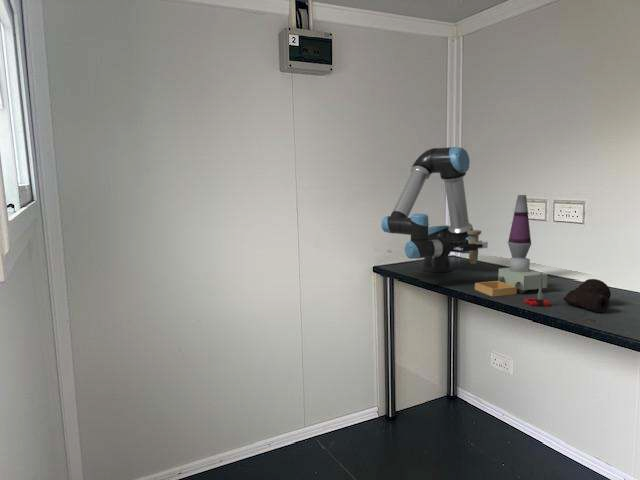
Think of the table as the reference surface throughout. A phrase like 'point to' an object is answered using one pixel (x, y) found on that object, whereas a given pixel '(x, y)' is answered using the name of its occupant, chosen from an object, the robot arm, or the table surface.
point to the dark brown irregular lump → (590, 296)
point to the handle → (473, 239)
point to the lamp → (520, 229)
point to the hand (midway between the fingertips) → (484, 244)
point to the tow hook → (538, 301)
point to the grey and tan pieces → (514, 279)
